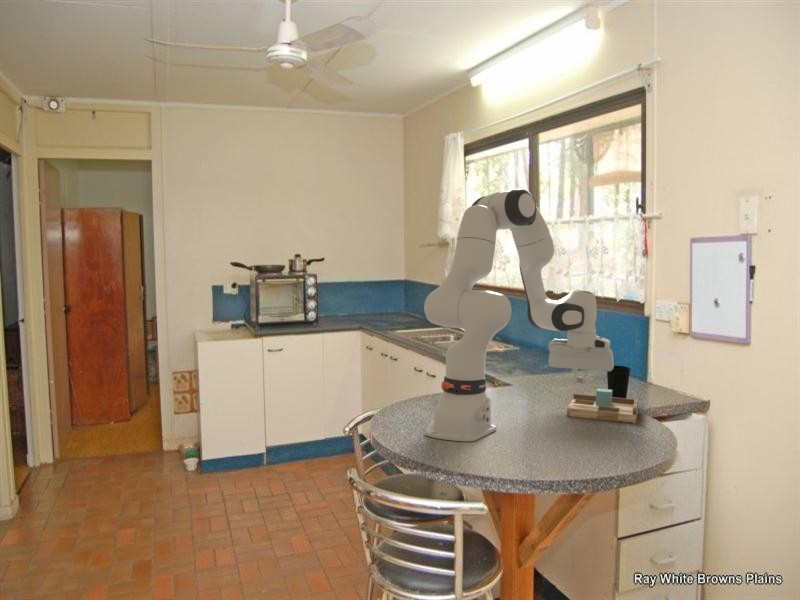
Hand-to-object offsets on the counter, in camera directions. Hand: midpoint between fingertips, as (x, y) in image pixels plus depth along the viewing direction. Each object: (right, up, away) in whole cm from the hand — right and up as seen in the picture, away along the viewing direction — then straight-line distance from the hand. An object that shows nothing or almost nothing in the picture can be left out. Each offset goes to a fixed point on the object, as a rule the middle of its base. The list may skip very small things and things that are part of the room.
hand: (580, 382), depth 202 cm
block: (+7, -7, -3) cm, 10 cm away
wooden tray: (+6, -9, -6) cm, 12 cm away
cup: (+16, -9, +13) cm, 22 cm away
